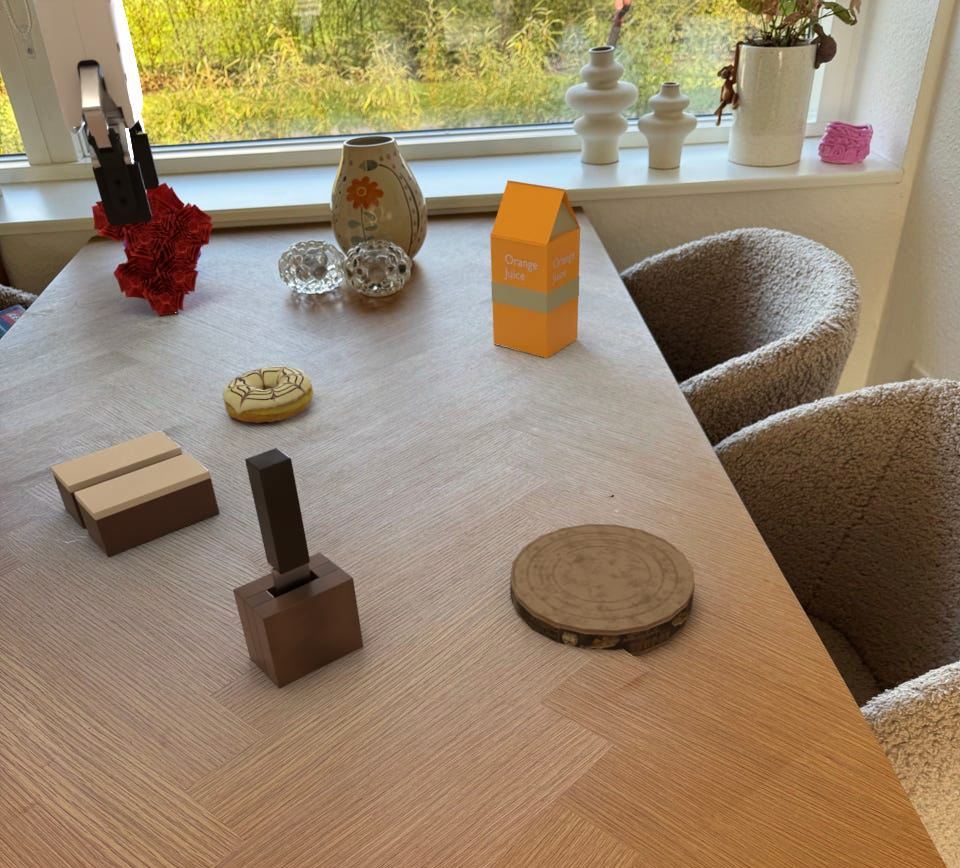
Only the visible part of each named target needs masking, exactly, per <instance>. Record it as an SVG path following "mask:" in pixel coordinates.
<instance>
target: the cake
mask: <svg viewBox="0 0 960 868" xmlns="http://www.w3.org/2000/svg"><path fill="white" fill-rule="evenodd" d="M182 454H183V451H182V447H181V446H180V445H179V444H177V443H176V442H175V441H174V440H173V439H172V438H170V437H169V436H168V435H167V434H166V433H164V432H163V431H162V430H156V431H154V432H149V433H147V434H144V435H141V436H138V437H135V438H132V439H129V440H127V441H124V442H121V443H118V444H115V445H111V446H109V447H105V448H103V449H100V450H97V451H94V452H91V453H88V454H85V455H83V456H79V457H76V458H73V459H70V460H68V461H64V462H61V463H58V464H54V465H52V466H50V470H51V473H52V476H53V478H54V481H55V484H56V487H57V490H58V492H59V495H60V497H61V501H62V504H63V506H64V508H65V510H66V511H67V512H68V514H69V515H70V516H71V517H72V518H73V519H74V520H75V521H76V523H77V524H78V525H79V526H80V527H81V528H82V529H87V528H86V525H85V522H84V520H83V517H82V514H81V511H80V508H79V505H78V503H77V500H76V497H75V495H74V492H77V491H80V490H83V489H85V488H88V487H91V486H94V485H97V484H100V483H102V482H105V481H108V480H111V479H114V478H117V477H119V476H122V475H125V474H128V473H131V472H134V471H136V470H139V469H142V468H145V467H148V466H150V465H153V464H156V463H159V462H162V461H165V460H167V459H170V458H173V457H176V456H179V455H182Z"/></svg>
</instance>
